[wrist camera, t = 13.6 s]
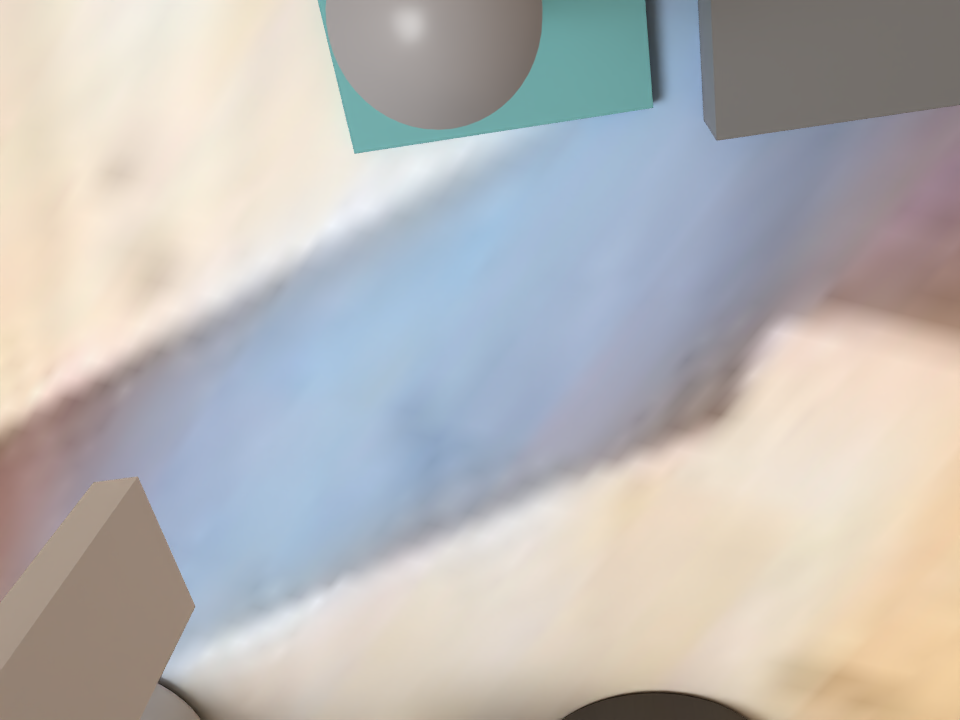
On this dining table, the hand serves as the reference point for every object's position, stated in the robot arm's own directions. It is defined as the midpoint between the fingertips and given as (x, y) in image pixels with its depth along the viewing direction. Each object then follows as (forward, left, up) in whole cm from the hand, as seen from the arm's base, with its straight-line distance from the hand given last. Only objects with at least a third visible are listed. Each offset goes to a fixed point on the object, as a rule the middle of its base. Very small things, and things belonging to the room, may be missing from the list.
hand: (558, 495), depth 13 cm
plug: (+6, +2, -24) cm, 25 cm away
